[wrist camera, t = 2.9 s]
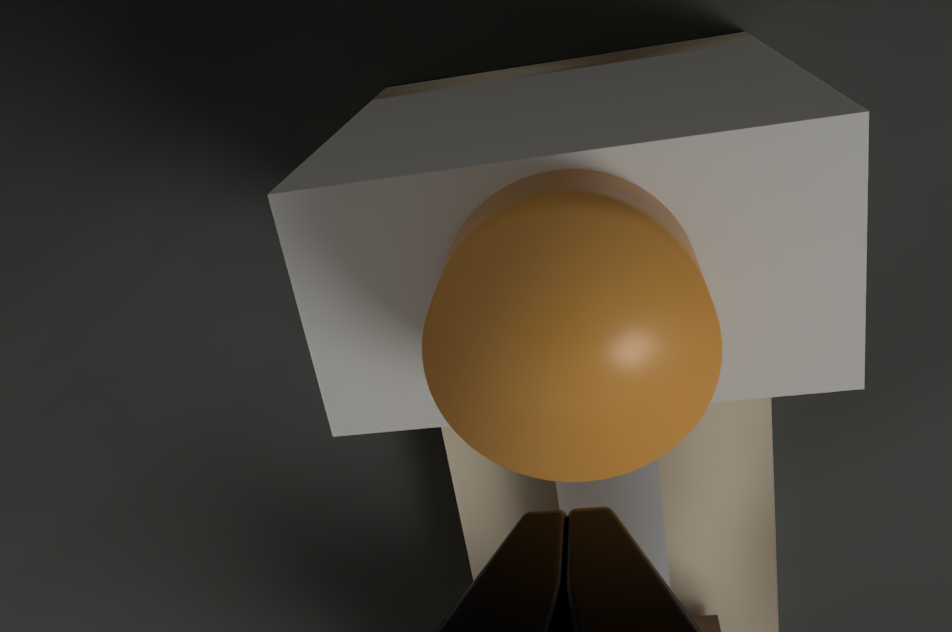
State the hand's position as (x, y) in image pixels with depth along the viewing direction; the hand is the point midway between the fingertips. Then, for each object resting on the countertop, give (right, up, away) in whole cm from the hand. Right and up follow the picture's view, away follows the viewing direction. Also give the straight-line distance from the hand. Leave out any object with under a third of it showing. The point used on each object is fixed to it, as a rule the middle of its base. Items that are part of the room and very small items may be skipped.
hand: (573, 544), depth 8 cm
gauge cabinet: (+1, +5, +10) cm, 12 cm away
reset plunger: (0, +3, +4) cm, 5 cm away
